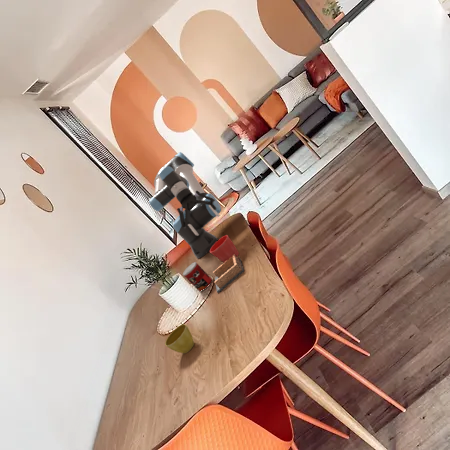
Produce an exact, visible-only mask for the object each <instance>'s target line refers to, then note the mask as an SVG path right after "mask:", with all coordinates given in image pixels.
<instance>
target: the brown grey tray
mask: <svg viewBox="0 0 450 450" xmlns="http://www.w3.org/2000/svg"><path fill="white" fill-rule="evenodd" d="M244 272H245V269H244V265H243V263H242V259H241V257H236V256H235V255H232V256H231V257H230V258H229V259H228V260H226V261H225V262H222V263H221V265H219V266H218V267H217V268H216V269H215V270H214V271H212V273H213V274H214V276H215V277H214V282H213V283H214V284H215V289H216V293H218V294H220V293H221V292H222V291H223V290H224V289H225V288H227V287H228V286H229V285H230V284H231V283H233V282H234V281H235V280H236V279H237V278H238V277H239V276H241V275H242V274H243V273H244Z"/></svg>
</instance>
